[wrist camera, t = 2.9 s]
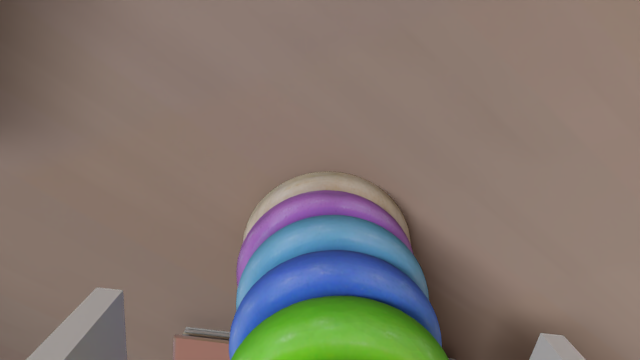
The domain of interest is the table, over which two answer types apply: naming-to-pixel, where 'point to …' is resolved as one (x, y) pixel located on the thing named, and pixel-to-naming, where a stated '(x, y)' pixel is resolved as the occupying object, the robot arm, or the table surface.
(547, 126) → the table surface
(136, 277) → the table surface
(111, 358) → the robot arm
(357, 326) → the stacking toy
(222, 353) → the notebook
